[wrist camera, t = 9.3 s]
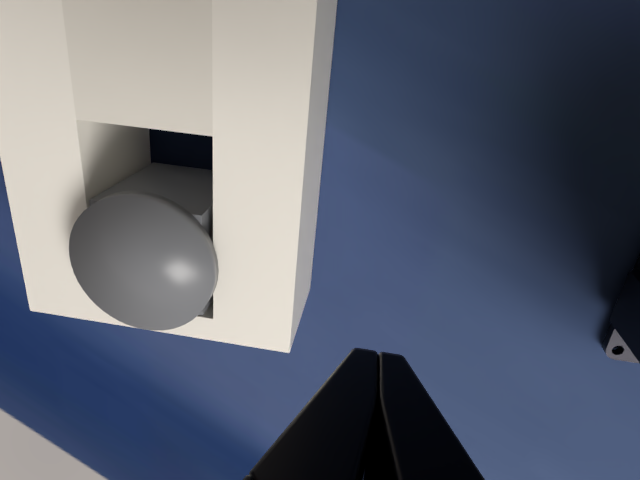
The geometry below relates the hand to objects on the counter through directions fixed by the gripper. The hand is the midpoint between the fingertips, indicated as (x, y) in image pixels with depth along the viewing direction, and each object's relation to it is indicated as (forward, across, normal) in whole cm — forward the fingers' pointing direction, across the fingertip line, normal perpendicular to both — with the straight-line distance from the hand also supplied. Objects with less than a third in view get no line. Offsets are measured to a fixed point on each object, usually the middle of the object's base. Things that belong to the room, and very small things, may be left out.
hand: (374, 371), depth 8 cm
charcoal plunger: (+13, +8, +3) cm, 15 cm away
